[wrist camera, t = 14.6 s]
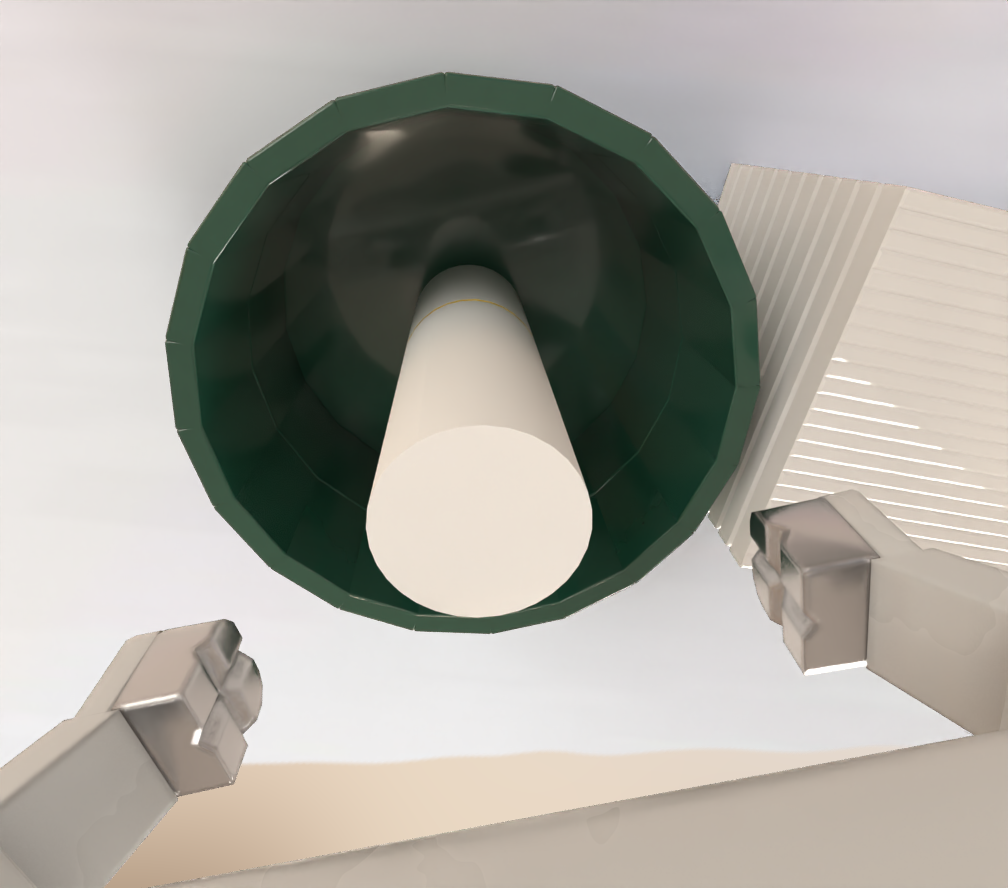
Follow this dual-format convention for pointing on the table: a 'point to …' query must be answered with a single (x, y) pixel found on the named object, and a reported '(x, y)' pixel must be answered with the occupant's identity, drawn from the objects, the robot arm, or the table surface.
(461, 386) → the tube
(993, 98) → the table surface
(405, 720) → the table surface
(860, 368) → the cream long block
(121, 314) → the table surface
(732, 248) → the pot
